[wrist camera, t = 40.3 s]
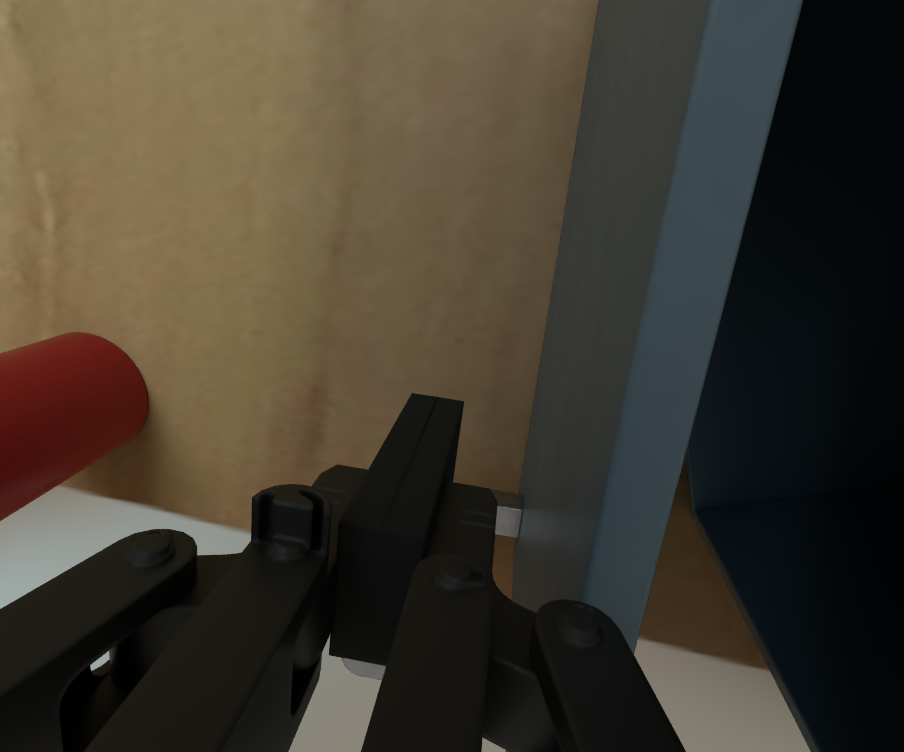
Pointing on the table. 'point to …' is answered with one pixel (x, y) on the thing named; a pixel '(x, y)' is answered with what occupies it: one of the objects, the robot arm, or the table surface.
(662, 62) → the fridge door
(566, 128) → the table surface
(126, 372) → the can
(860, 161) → the fridge
